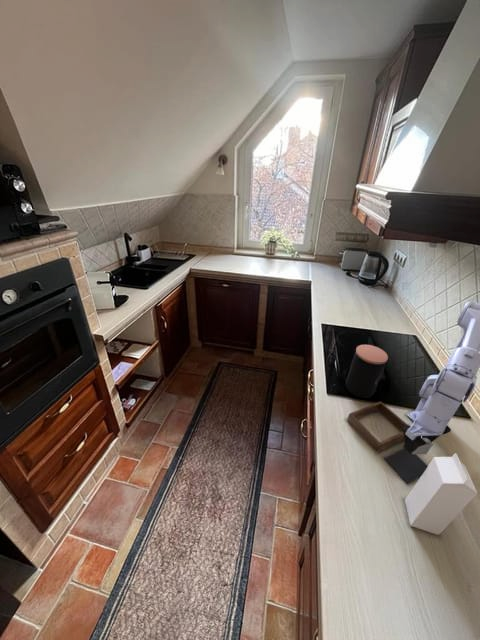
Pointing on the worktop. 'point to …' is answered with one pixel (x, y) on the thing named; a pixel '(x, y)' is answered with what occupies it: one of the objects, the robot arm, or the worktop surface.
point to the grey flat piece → (423, 447)
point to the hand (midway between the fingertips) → (417, 445)
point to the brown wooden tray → (366, 434)
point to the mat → (406, 465)
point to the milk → (440, 494)
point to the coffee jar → (366, 370)
